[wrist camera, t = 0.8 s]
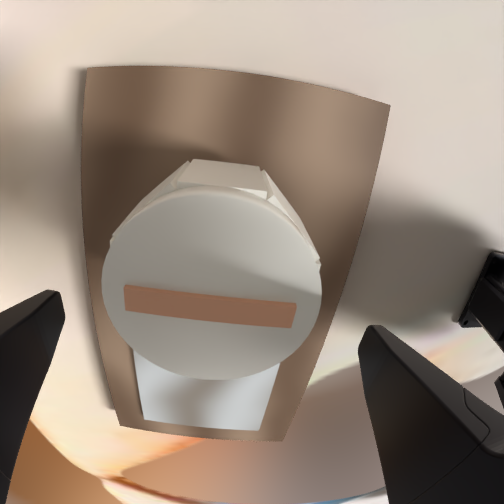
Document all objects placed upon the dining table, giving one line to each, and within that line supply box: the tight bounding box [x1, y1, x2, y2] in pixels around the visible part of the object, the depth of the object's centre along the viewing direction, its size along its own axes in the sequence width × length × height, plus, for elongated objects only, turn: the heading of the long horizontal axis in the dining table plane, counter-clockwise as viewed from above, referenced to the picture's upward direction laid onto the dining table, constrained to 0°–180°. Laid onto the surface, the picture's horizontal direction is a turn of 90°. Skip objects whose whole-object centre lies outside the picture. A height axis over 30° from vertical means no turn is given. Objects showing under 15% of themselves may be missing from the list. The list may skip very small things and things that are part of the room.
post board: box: [81, 66, 390, 441], centre depth 16 cm, size 14×26×7 cm, turn 172°
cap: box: [101, 159, 322, 380], centre depth 11 cm, size 7×7×5 cm
